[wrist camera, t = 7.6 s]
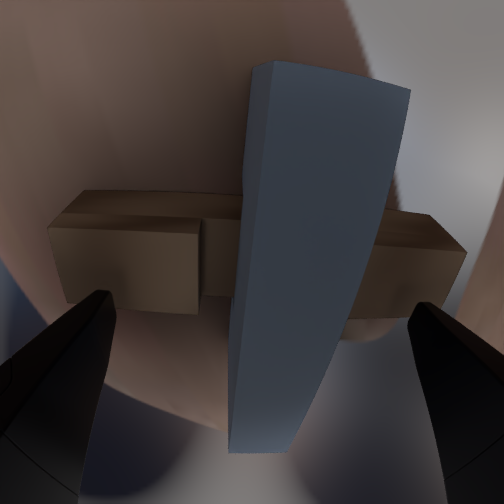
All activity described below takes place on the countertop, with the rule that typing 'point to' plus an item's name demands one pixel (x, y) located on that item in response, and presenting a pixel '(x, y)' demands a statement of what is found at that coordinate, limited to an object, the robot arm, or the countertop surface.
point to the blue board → (303, 236)
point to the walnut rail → (225, 253)
